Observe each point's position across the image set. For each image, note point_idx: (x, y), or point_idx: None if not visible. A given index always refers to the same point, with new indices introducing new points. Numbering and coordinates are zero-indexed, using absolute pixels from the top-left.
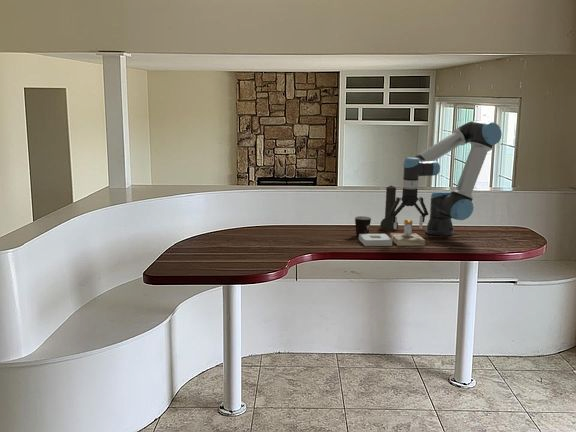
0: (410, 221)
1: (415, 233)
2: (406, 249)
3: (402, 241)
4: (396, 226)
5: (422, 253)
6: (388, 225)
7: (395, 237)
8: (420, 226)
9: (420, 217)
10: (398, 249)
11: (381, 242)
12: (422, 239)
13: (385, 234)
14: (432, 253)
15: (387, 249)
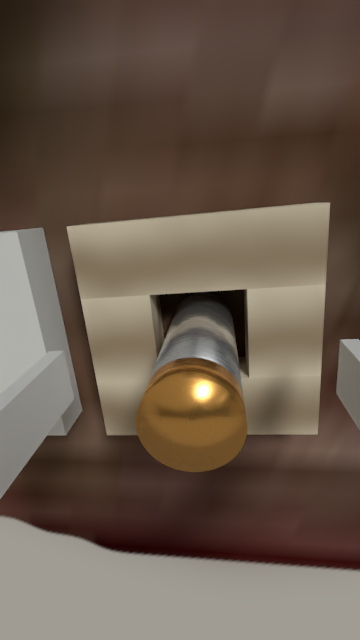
0: (207, 470)
1: (319, 206)
2: (158, 485)
3: None
4: (59, 416)
5: (228, 555)
6: None
7: (96, 366)
8: (346, 395)
9: None
10: (111, 483)
11: None
12: (300, 428)
13: (20, 263)
14: (285, 559)
15: (50, 480)
